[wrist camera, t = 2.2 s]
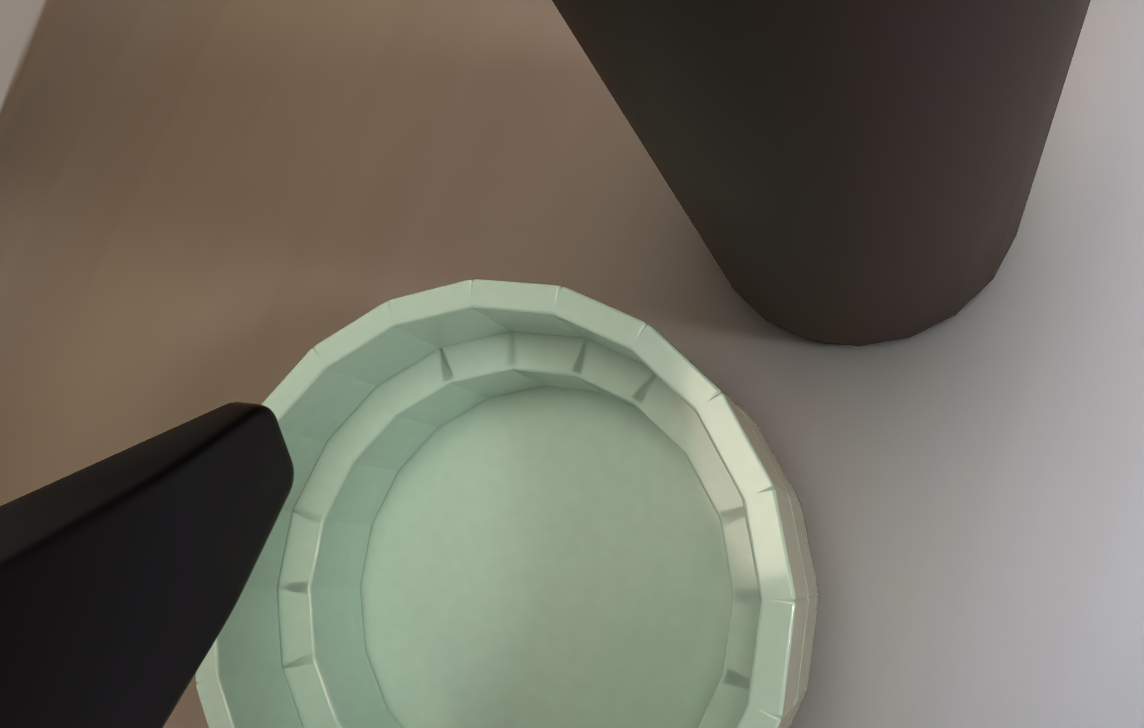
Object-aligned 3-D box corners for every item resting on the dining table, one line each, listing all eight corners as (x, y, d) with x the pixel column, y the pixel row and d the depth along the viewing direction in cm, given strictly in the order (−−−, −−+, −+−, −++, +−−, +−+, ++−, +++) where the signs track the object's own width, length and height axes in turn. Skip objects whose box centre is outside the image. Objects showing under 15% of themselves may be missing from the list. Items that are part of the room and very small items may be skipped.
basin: (929, 730, 20) (935, 778, 15) (435, 958, 22) (310, 1060, 18) (659, 245, 24) (599, 167, 19) (263, 481, 26) (124, 462, 22)
